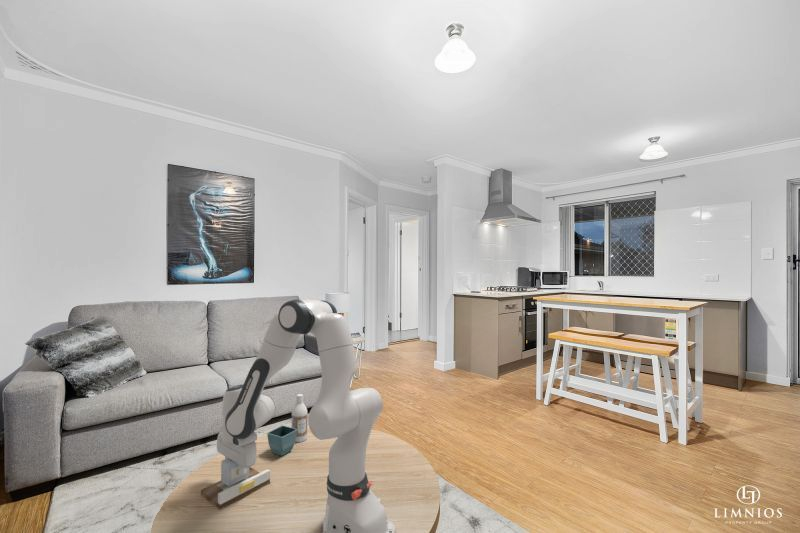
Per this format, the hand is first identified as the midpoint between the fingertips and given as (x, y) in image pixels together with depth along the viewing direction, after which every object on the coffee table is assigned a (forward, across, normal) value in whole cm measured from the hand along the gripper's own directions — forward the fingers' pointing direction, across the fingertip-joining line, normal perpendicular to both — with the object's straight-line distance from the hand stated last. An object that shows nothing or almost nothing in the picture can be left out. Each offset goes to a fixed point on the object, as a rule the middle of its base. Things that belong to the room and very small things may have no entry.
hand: (235, 471), depth 126 cm
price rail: (+4, +7, 0) cm, 8 cm away
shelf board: (+6, +1, 0) cm, 6 cm away
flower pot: (+6, -8, +25) cm, 27 cm away
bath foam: (+6, -12, +37) cm, 39 cm away
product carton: (+3, 0, 0) cm, 3 cm away
